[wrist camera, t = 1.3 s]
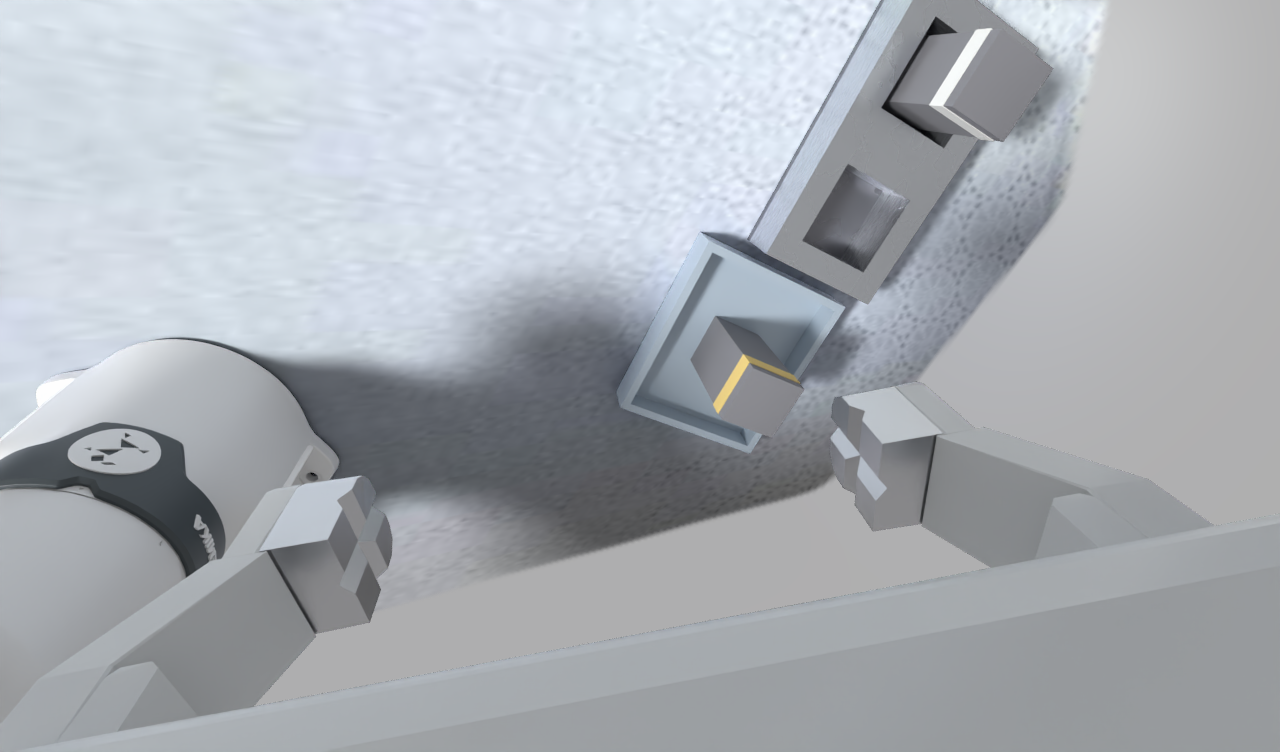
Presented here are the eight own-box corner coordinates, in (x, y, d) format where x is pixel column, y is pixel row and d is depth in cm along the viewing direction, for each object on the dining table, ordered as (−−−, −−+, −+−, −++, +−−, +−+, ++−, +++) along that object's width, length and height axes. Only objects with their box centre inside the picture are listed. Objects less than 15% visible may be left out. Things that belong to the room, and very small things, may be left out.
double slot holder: (842, 286, 45) (867, 304, 42) (747, 239, 43) (766, 254, 39) (993, 51, 39) (1038, 48, 36) (894, -25, 36) (932, -35, 33)
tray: (740, 436, 51) (749, 453, 48) (616, 391, 47) (620, 407, 44) (830, 295, 46) (845, 307, 43) (700, 231, 42) (709, 240, 39)
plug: (732, 377, 47) (772, 438, 39) (689, 360, 46) (720, 420, 38) (759, 334, 46) (805, 389, 38) (714, 314, 44) (753, 367, 36)
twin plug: (912, 129, 40) (1003, 142, 32) (867, 100, 39) (950, 107, 31) (949, 69, 39) (1054, 68, 31) (904, 36, 37) (1001, 27, 30)
